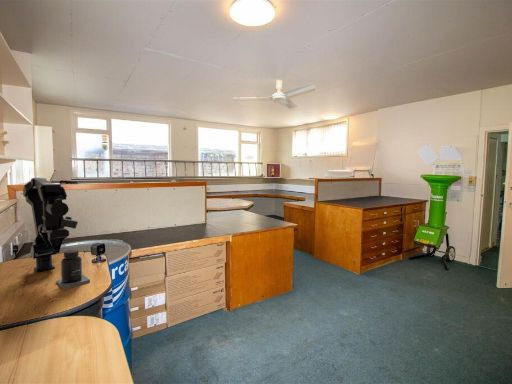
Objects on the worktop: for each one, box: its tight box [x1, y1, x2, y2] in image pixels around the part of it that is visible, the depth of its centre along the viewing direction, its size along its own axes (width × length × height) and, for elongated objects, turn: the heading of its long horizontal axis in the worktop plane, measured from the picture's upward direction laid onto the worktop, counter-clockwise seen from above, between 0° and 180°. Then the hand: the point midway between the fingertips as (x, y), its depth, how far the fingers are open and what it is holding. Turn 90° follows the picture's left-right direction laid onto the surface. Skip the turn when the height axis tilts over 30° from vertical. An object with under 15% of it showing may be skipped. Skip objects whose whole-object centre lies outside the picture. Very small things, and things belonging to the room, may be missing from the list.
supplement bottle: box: [60, 249, 83, 283], centre depth 104 cm, size 7×7×12 cm
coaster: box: [55, 273, 91, 290], centre depth 105 cm, size 9×9×1 cm
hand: (54, 250), depth 107 cm, fingers open, 9 cm apart
